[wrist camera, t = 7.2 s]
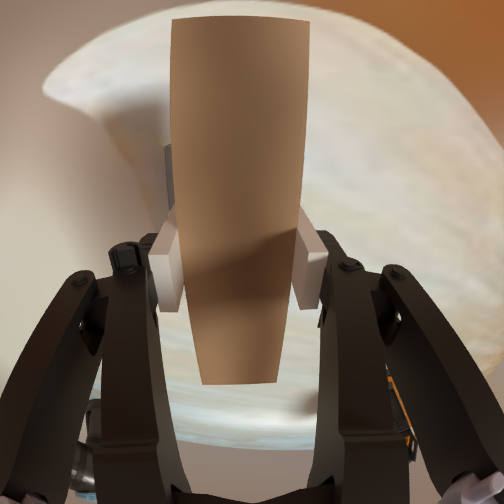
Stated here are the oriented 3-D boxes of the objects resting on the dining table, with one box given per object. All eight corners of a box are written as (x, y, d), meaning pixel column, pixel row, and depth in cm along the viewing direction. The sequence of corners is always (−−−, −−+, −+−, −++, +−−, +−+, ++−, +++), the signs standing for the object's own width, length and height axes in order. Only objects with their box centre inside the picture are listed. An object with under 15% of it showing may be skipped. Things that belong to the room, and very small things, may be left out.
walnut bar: (205, 332, 21) (202, 384, 17) (190, 44, 11) (171, 19, 7) (268, 331, 22) (276, 382, 17) (285, 45, 12) (309, 21, 7)
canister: (349, 397, 48) (374, 481, 31) (354, 369, 43) (388, 469, 25) (388, 385, 48) (419, 463, 31) (398, 354, 42) (441, 445, 25)
